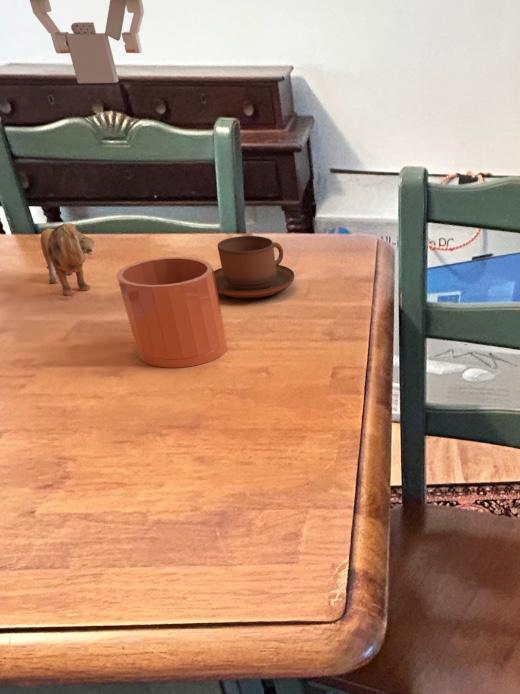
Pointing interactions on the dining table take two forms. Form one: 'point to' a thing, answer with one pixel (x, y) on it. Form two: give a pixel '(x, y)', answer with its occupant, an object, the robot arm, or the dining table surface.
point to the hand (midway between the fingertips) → (100, 53)
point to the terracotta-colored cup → (173, 311)
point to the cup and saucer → (251, 268)
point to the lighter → (96, 47)
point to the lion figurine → (66, 254)
